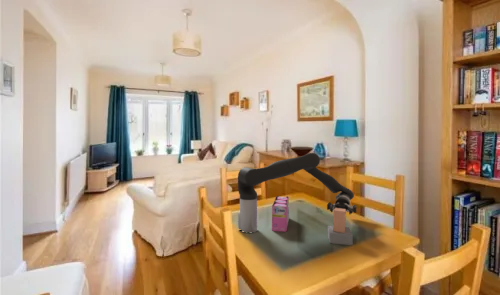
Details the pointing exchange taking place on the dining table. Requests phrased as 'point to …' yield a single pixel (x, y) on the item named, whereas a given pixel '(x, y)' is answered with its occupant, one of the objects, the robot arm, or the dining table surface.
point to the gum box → (280, 214)
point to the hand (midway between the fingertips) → (340, 211)
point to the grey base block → (340, 236)
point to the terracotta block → (339, 220)
